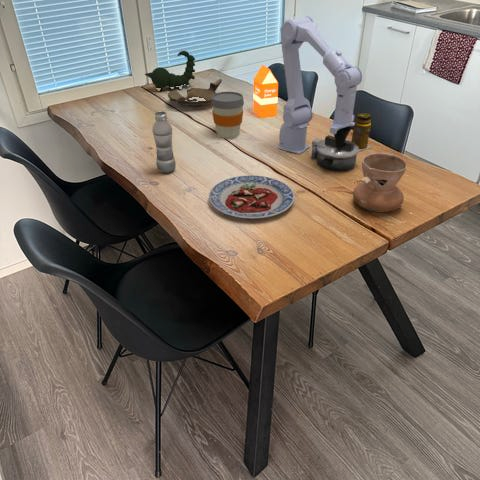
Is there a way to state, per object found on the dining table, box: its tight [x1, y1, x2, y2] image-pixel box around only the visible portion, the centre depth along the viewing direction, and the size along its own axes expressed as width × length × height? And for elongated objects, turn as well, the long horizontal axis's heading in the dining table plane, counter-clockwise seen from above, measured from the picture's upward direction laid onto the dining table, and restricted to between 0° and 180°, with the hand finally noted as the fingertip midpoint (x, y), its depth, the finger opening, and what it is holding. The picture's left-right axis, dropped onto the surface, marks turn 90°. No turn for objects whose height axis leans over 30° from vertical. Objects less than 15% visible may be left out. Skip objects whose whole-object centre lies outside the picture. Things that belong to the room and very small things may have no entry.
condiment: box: [350, 112, 373, 152], centre depth 168 cm, size 7×8×12 cm
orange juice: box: [252, 64, 279, 119], centre depth 194 cm, size 8×9×20 cm
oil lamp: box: [167, 78, 223, 107], centre depth 210 cm, size 22×30×8 cm
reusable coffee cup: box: [210, 91, 245, 139], centre depth 177 cm, size 13×13×15 cm
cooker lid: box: [311, 134, 359, 159], centre depth 155 cm, size 16×14×4 cm
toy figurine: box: [144, 50, 196, 89], centre depth 224 cm, size 9×19×25 cm
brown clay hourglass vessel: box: [352, 152, 408, 213], centre depth 133 cm, size 18×14×14 cm
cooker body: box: [310, 143, 358, 173], centre depth 159 cm, size 16×18×5 cm
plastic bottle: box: [152, 110, 177, 174], centre depth 149 cm, size 6×7×20 cm
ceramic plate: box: [208, 175, 296, 220], centre depth 138 cm, size 26×26×3 cm
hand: (339, 147), depth 153 cm, fingers closed
